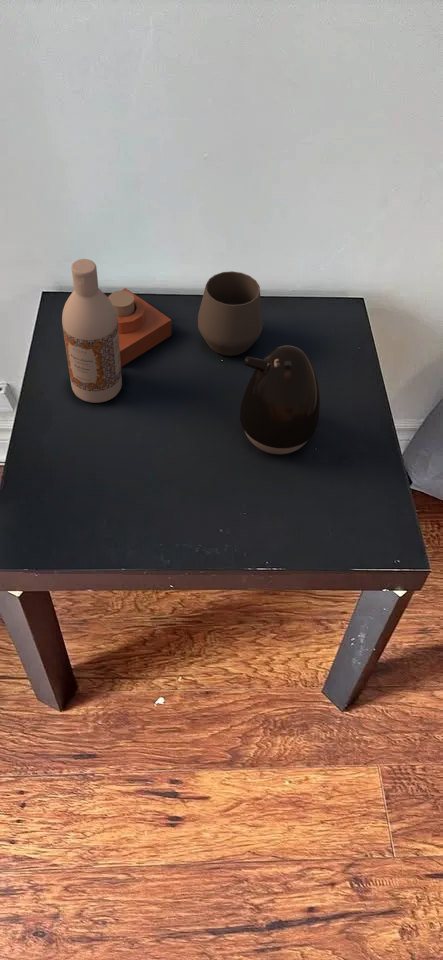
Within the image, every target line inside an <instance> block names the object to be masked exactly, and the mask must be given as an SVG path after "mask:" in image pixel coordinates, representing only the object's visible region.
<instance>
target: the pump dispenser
mask: <svg viewBox="0 0 443 960" xmlns="http://www.w3.org/2000/svg"><path fill="white" fill-rule="evenodd" d="M243 364H244V365H245V366H246V367H249V368H251V369H254V371H253V374H252V376H251V377H250V379H249V381H248V384H247V385H246V388H245V391H244V393H243V397H242V400H241V404H240V410H239V421H240V425H241V426H242V429H243V430H244V433H245V436H246V437H247V439H248V440H249V441H250V442H251V444H252V445H254V446H255V447H256V448H258V450H261V451H263V452H265V453H268V454H272V455H286V454H291V453H293V452H295V451H298V450H300V449H301V448H302V447H304V445H305V444H307V442H308V441H309V440H310V439H312V437H313V436H314V435H315V434H316V432H317V430H318V426H319V421H320V409H321V398H320V396H321V395H320V389H319V383H318V379H317V378H318V377H317V375H316V372H315V369H314V366H313V364H312V361H311V360H310V358H309V357H308V355H307V354H306V352H305V351H304V350H303V349H300V348H299V347H298V346H295V345H289V344H288V345H287V344H286V345H280V346H276V348H274V349H273V350H271V351H270V352H269V353H267V355H265V356H264V358H263V359H262V358H258V357H253V356H246V357H245V358H244V361H243Z"/></svg>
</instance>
